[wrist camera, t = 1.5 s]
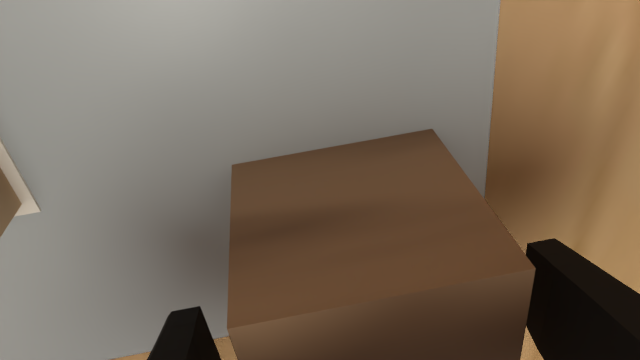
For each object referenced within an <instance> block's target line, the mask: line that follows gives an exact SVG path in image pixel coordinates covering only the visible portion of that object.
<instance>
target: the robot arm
mask: <svg viewBox="0 0 640 360" xmlns="http://www.w3.org/2000/svg"><path fill="white" fill-rule="evenodd" d="M526 256H527V257H528V259H529V260H530V262H531V263H532V264H533V266H534V267H535V268H536V269H535V275H534V281H533V287H532V293H531V299H530V305H529V310H528V316H527V322H526V326H527V328H528V330H529V333H530V335H531V337H532V339H533V341H534V343H535V345H536V347H537V349H538V351H539V352H540V354H541V355H542V357H543V359H544V360H640V294H639V293H637V292H636V291H634V290H633V289H631V288H629V287H628V286H626V285H625V284H623V283H622V282H620V281H619V280H617V279H616V278H614V277H613V276H611V275H610V274H608V273H607V272H605V271H603V270H602V269H600V268H599V267H597V266H596V265H594V264H593V263H591V262H590V261H588V260H587V259H585V258H584V257H582V256H581V255H579V254H578V253H576V252H575V251H573V250H572V249H570V248H569V247H567V246H566V245H564V244H563V243H561V242H559V241H558V240H556V239H555V238H554V239H548V240H543V241H538V242H533V243H528V244H527V250H526ZM147 360H221V358H220V356H219V353H218V350H217V348H216V345H215V343H214V340H213V338H212V335H211V333H210V330H209V327H208V325H207V322H206V320H205V317H204V315H203V312H202V310H201V307H200V306H197V307H192V308H186V309H181V310H176V311H172V312H171V313H170V314H169V315H168V317H167V319H166V321H165V323H164V326H163V328H162V330H161V332H160V334H159V336H158V338H157V340H156V342H155V345H154V347H153V349H152V351H151V353H150V355H149V357H148V359H147Z"/></svg>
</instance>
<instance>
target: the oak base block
mask: <svg viewBox="0 0 640 360" xmlns="http://www.w3.org/2000/svg"><path fill="white" fill-rule="evenodd" d="M21 205H22V203H21V202H20V200H19V198H18V196H17V195H16V193H15V191H14V190H13V188H12V186H11V185H10V183H9V181H8V180H7V178H6V176H5V174H4V173H3V171H2V169H1V168H0V237H1V236H2V234H3V233H4V231H5V229H6V228H7V226H8V225H9V223H10V222H11V220H12V219H13V217H14V216H15V214H16V213H17V211H18V210H19V208H20V206H21Z"/></svg>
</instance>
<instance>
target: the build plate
mask: <svg viewBox="0 0 640 360" xmlns="http://www.w3.org/2000/svg"><path fill="white" fill-rule="evenodd" d="M499 11H500V0H0V168H1V169H2V171H3V173H4V174H5V176H6V178H7V180H8V181H9V183H10V185H11V186H12V188H13V190H14V191H15V193H16V195H17V196H18V198H19V200H20V202H21V203H22V205H21V206H20V208H19V210H18V211H17V213H16V214H15V216H14V217H13V219H12V220H11V222H10V223H9V225H8V226H7V228H6V229H5V231H4V233H3V234H2V236H1V237H0V360H109V359H114V358H120V357H125V356H130V355H135V354H140V353H145V352H150V351H152V349H153V347H154V345H155V342H156V340H157V338H158V336H159V334H160V332H161V330H162V328H163V326H164V323H165V321H166V319H167V317H168V315H169V314H170V313H171V312H172V311H176V310H181V309H186V308H192V307H197V306H200V307H201V310H202V312H203V315H204V317H205V320H206V322H207V325H208V327H209V330H210V333H211V335H212V338H213V339H216V338H221V337H226V336H229V334H228V331H227V308H228V274H229V240H230V207H231V173H232V165H233V164H239V163H245V162H250V161H256V160H261V159H267V158H272V157H278V156H283V155H289V154H294V153H300V152H306V151H311V150H317V149H322V148H328V147H333V146H339V145H344V144H350V143H355V142H361V141H367V140H372V139H378V138H383V137H389V136H394V135H400V134H405V133H411V132H416V131H422V130H427V129H433V130H434V132H435V133H436V134H437V136H438V137H439V138H440V140H441V141H442V142H443V144H444V145H445V147H446V148H447V149H448V151H449V152H450V153H451V155H452V156H453V157H454V159H455V160H456V161H457V163H458V164H459V165H460V167H461V168H462V170H463V171H464V172H465V174H466V175H467V176H468V178H469V179H470V180H471V182H472V183H473V184H474V186H475V187H476V188H477V190H478V191H479V193H480V194H481V195H482V197H483V198H485V186H486V173H487V161H488V148H489V136H490V123H491V111H492V98H493V86H494V73H495V61H496V49H497V36H498V24H499Z"/></svg>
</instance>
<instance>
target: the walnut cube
mask: <svg viewBox="0 0 640 360" xmlns="http://www.w3.org/2000/svg"><path fill="white" fill-rule="evenodd" d="M535 269H536V268H535V267H534V266H533V264H532V263H531V262H530V260H529V259H528V257H527V256H526V255H525V253H524V252H523V251H522V249H521V248H520V247H519V245H518V244H517V243H516V241H515V240H514V239H513V237H512V236H511V234H510V233H509V232H508V230H507V229H506V228H505V226H504V225H503V224H502V222H501V221H500V220H499V218H498V217H497V216H496V214H495V213H494V211H493V210H492V209H491V207H490V206H489V205H488V203H487V202H486V201H485V199H484V198H483V197H482V195H481V194H480V193H479V191H478V190H477V188H476V187H475V186H474V184H473V183H472V182H471V180H470V179H469V178H468V176H467V175H466V174H465V172H464V171H463V170H462V168H461V167H460V165H459V164H458V163H457V161H456V160H455V159H454V157H453V156H452V155H451V153H450V152H449V151H448V149H447V148H446V147H445V145H444V144H443V142H442V141H441V140H440V138H439V137H438V136H437V134H436V133H435V132H434V130H433V129H427V130H422V131H416V132H411V133H405V134H400V135H394V136H389V137H383V138H378V139H372V140H367V141H361V142H355V143H350V144H344V145H339V146H333V147H328V148H322V149H317V150H311V151H306V152H300V153H294V154H289V155H283V156H278V157H272V158H267V159H261V160H256V161H250V162H245V163H239V164H233V165H232V173H231V207H230V240H229V274H228V308H227V331H228V334H229V337H230V339H231V342H232V345H233V348H234V351H235V353H236V356H237V359H238V360H520V357H521V351H522V345H523V340H524V334H525V328H526V322H527V316H528V310H529V305H530V299H531V293H532V287H533V281H534V275H535Z"/></svg>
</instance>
